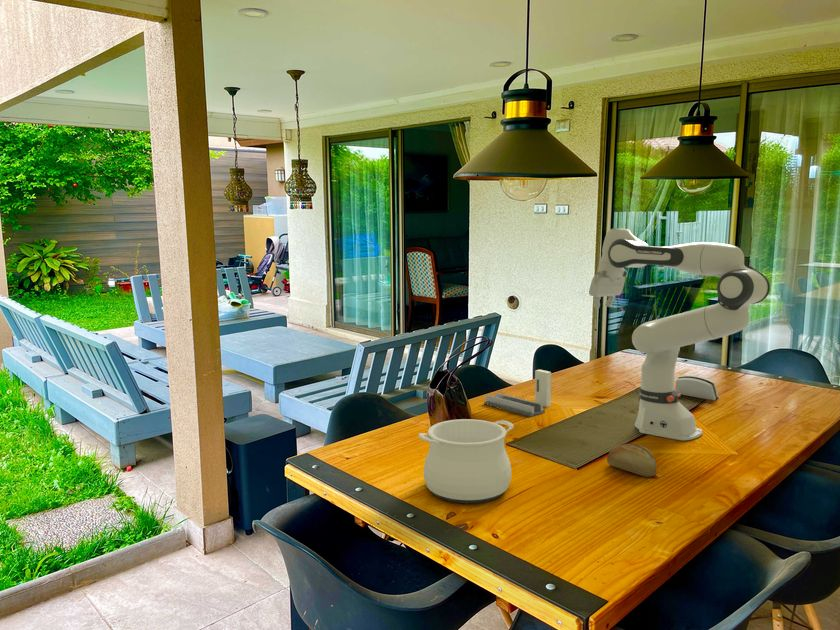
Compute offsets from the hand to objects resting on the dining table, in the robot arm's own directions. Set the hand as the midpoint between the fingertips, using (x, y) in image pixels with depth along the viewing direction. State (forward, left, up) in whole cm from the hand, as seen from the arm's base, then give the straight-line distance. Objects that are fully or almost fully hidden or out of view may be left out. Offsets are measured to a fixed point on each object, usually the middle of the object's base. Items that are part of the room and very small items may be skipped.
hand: (602, 307), depth 243 cm
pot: (-15, +87, -42) cm, 98 cm away
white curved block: (-13, -50, -42) cm, 66 cm away
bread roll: (-39, +42, -42) cm, 71 cm away
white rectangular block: (+23, +6, -41) cm, 48 cm away
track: (+28, +18, -41) cm, 53 cm away
